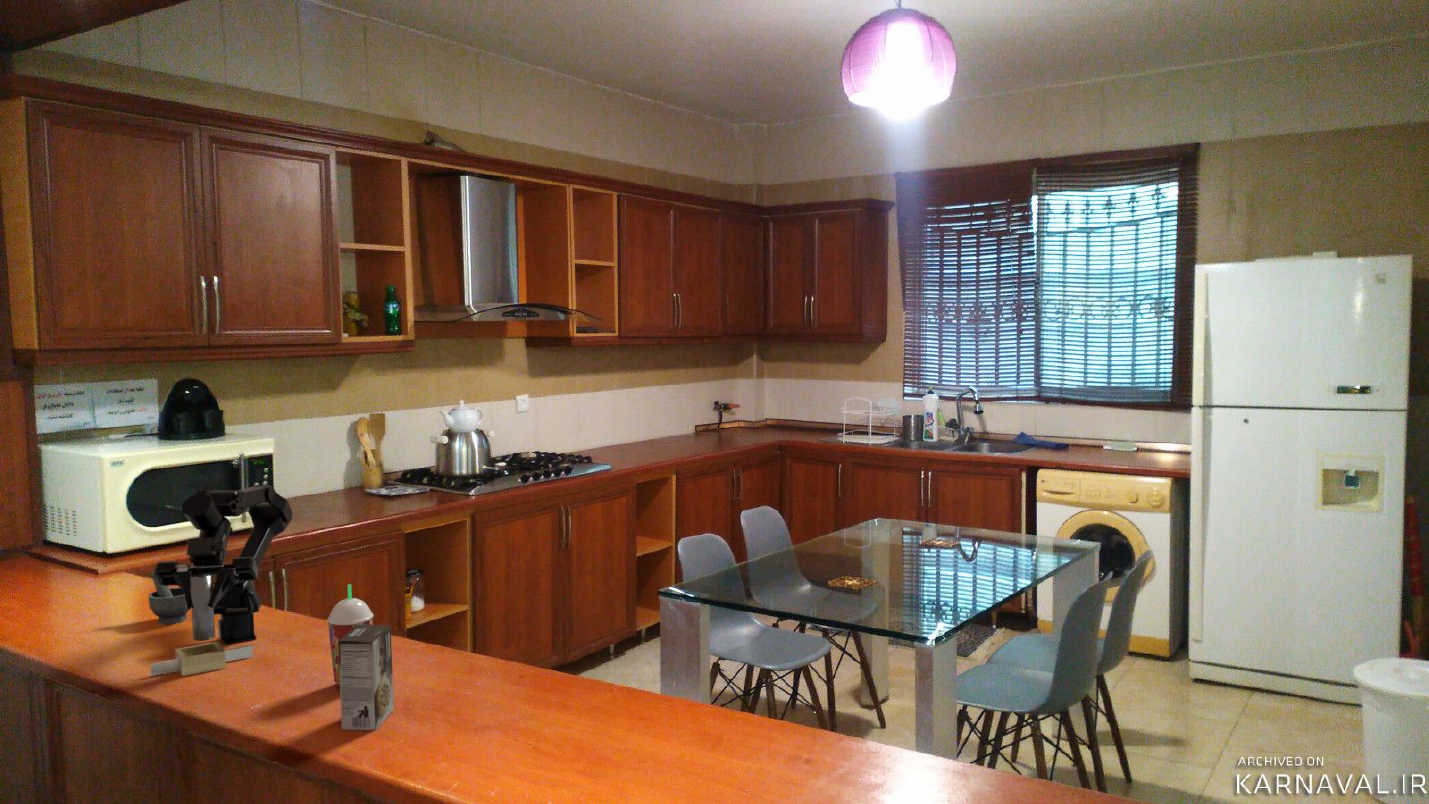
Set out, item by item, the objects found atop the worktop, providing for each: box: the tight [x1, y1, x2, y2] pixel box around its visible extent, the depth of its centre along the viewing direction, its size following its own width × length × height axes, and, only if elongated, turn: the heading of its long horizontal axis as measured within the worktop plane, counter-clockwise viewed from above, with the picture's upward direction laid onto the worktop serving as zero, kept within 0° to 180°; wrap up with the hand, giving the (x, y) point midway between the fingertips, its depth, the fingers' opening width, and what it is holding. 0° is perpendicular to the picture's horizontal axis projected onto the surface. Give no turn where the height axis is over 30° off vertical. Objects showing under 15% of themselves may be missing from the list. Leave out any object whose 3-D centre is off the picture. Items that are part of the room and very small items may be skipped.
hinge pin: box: [190, 573, 216, 642], centre depth 199 cm, size 4×4×13 cm
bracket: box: [149, 641, 254, 677], centre depth 202 cm, size 19×8×4 cm, turn 127°
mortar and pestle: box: [148, 571, 191, 626], centre depth 233 cm, size 11×9×12 cm
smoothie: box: [327, 584, 374, 689], centre depth 190 cm, size 8×8×20 cm
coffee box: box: [338, 624, 395, 731], centre depth 173 cm, size 9×6×16 cm
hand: (200, 607), depth 198 cm, fingers closed on hinge pin, 4 cm apart
